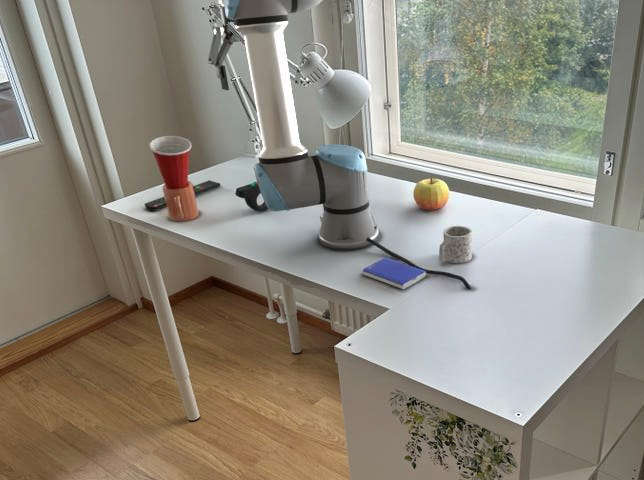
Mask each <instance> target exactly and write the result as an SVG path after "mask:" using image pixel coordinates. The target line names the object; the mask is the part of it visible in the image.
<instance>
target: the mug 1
mask: <svg viewBox="0 0 644 480" xmlns="http://www.w3.org/2000/svg"><path fill="white" fill-rule="evenodd" d="M193 186H194V184H193V182H192V181H190V180H188V183H187V186H186V187H183V188H179V189H169V188H167V187H166V185H165V184H163V185H162V186H161V188H162V195H163V197H164V198H165V202H166V206H165V207H166V209H167V210H166V211H167V214H168V216H169V219H170V220H171V221H173V222H188V221H191V220H193V219H196V218H197V217H199V208H198V202H197V198H196V195H195V193H194V189H193Z"/></svg>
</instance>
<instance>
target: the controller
mask: <svg viewBox="0 0 644 480" xmlns="http://www.w3.org/2000/svg"><path fill="white" fill-rule="evenodd" d="M234 194H235V196H236V197H238V198H241V199H244V202H245V204H246V205H247V207H249V208H250V209H251V210H254V211H256V212H266V211H267V210H269V209H268V207H267V206H266V204H265V202H264V201H263V202H262V203H261V204H258V197H259V196H260V195H262V194H261V191H260V189H259V186H258V183H257V180H256V181H253V182H252V183H248V184H246V185H243V186H240V187H236V189H235V193H234Z"/></svg>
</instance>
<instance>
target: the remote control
mask: <svg viewBox="0 0 644 480" xmlns="http://www.w3.org/2000/svg"><path fill="white" fill-rule="evenodd" d="M219 187H221V183H220V182H216V181H213V180H206V181H202V182H200V183H198V184H195V185H193V189H194V193H195V196H197V195H199V194H202V193H205V192H207V191H210V190H213V189H216V188H219ZM144 207H145V209H146V210H147V211H149V212H153V211H156V210H159V209H162V208H164V207H167V206H166V202H165V198H164V196H162V197H159V198H156V199H154V200H151V201H148V202H145V203H144Z"/></svg>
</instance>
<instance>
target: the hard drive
mask: <svg viewBox="0 0 644 480" xmlns="http://www.w3.org/2000/svg"><path fill="white" fill-rule="evenodd" d="M362 275H363V276H366V277H369V278H371V279H374V280H377V281H380V282H382V283H386V284H388V285H391V286H393V287H396V288H399V289H401V290H405V289H407V288H409V287H411V286H412V285H414V284H416V283H418V282H419V281H421V280H422V279H424V278H426V277H427V273H426V271H423V270H420V269H417V268H414V267H411V266H410V265H408V264H406V263H404V262H403V263H402V262H400V261H397V260H394V259H392V258H389V257H383V258H381V259H379V260H378V261H376V262H374V263H372V264H370V265H368V266H366V267H364V268H363V269H362Z"/></svg>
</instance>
